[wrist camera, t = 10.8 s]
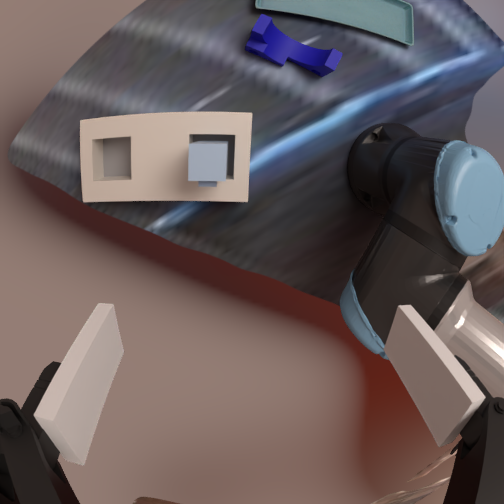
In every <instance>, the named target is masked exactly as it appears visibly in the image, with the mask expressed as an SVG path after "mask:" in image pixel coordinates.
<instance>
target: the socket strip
mask: <svg viewBox="0 0 504 504" xmlns="http://www.w3.org/2000/svg"><path fill="white" fill-rule="evenodd" d="M251 126H252V113H240V112H168V113H148V114H134V115H122V116H112V117H102V118H94V119H86V120H80V159H81V180H82V195H83V202H107V201H228V202H248V187H249V166H250V146H251ZM197 141H228V162H227V175H226V181H217V187H198V181H188V158H189V144H190V143H193V142H197Z"/></svg>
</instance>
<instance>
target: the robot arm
mask: <svg viewBox="0 0 504 504" xmlns="http://www.w3.org/2000/svg"><path fill="white" fill-rule="evenodd" d="M348 177H349V181H350V185H351V187H352V190H353V192H354V193H355V195H356V197H357V198H358V199H359V200H360V201H361V202H362V203H363V204H364V205H365V206H366V207H368V208H370V209H371V210H373V211H374V212H376V213H379V214H382V215H385V216H384V218H383V219H382V221H381V223H380V225H379V227H378V229H377V231H376V233H375V235H374V237H373V238H372V240H371V242H370V244H369V246H368V247H367V249H366V251H365V253H364V254H363V256H362V258H361V259H360V261H359V263H358V265H357V266H356V268H355V269H354V270H353V271H352V272H351V275H350V279H349V281H348V283H347V285H346V287H345V289H344V290H343V292H342V294H341V297H340V308H341V313H342V316H343V319H344V321H345V322H346V324H347V326H348V327H349V329H350V330H351V332H352V333H353V334H354V335H355V336H356V338H357V339H358V340H359V341H360V342H361V343H362V344H363V345H364V346H365V347H366V348H368V349H369V350H370V351H372V352H373V353H375V354H378V353H379V354H380V356H381V357H382V358H384V359H387V360H390V362H391V363H392V365H393V366H394V368H395V370H396V372H397V373H398V375H399V376H400V378H401V380H402V382H403V383H404V385H405V387H406V389H407V390H408V392H409V394H410V396H411V397H412V399H413V401H414V402H415V404H416V406H417V408H418V410H419V412H420V413H421V415H422V417H423V419H424V421H425V422H426V424H427V426H428V428H429V430H430V432H431V433H432V435H433V437H434V439H435V441H436V443H437V445H438V447H441V446H444V445H446V444H449V443H451V442H453V441H454V440H455V438H456V437H457V436H458V434H459V433H460V435H461V436H462V439H461V440H460V441H459V443H458V444H457V445H456V446H455V447H454V448H453V450H452V451H451V453H450V454H451V455H452V454H453V453H454V452H455V451H456V450H457V449H458V450H457V454H456V455H455V456H456V459H455V463H454V468H453V471H452V475H451V479H450V482H449V486H448V489H447V493H446V496H445V499H444V502H443V504H504V324H503V323H502V322H500V321H499V320H498V319H497V318H495V317H494V316H493V315H492V314H490V313H489V312H488V311H487V310H485V309H484V308H483V307H482V306H480V305H479V304H478V303H476V302H475V300H474V299H473V294H472V288H471V283H470V281H469V280H467V279H466V278H465V277H463V276H462V275H461V274H459V271H460V269H461V267H462V266H463V264H464V262H465V260H466V258H467V257H468V256H479V255H482V254H484V253H485V252H486V249H487V248H488V249H490V248H491V247H492V246H493V245H494V244H495V243H496V241H497V240H498V238H499V236H500V234H501V232H502V229H503V227H504V175H503V173H502V170H501V168H500V166H499V164H498V163H497V162H496V160H495V159H494V158H493V157H492V155H490V154H489V153H488V152H487V151H485V150H484V149H482V148H480V147H477V146H474V145H470V144H467V143H465V142H463V141H459V140H455V141H450V140H443V139H435V138H427V137H421V136H420V135H419V134H417V133H416V132H415V131H413V130H412V129H410V128H409V127H406V126H404V125H401V124H396V123H381V124H377V125H374V126H372V127H370V128H368V129H367V130H365V131H364V132H363V133H362V134H361V135H360V136H359V137H358V138H357V140H356V141H355V143H354V145H353V147H352V149H351V152H350V155H349V159H348ZM123 353H124V350H123V346H122V341H121V337H120V333H119V328H118V323H117V319H116V314H115V309H114V304H104V303H98V305H97V306H96V308H95V309H94V311H93V312H92V314H91V315H90V317H89V318H88V320H87V322H86V323H85V325H84V326H83V328H82V330H81V331H80V333H79V335H78V336H77V338H76V339H75V341H74V343H73V344H72V346H71V348H70V349H69V351H68V353H67V354H66V356H65V358H64V360H63V361H62V363H59V362H54V361H53V362H52V363H51V364H49V365H48V366H47V367H46V368H45V369H44V370H43V372H42V373H41V375H40V377H39V380H37V382H36V383H35V385H34V388H33V389H32V390H31V392H30V394H29V396H28V398H27V399H26V401H25V403H24V405H23V407H22V409H20V408H19V406H18V405H17V403H16V402H14V401H13V400H11V399H1V400H0V504H80V503H79V501H78V499H77V497H76V496H75V494H74V492H73V490H72V488H71V486H70V484H69V482H68V480H67V478H66V476H65V474H64V472H63V469H62V467H61V465H60V463H59V462H58V460H57V459H58V457H59V453H60V454H61V455H62V456H63V457H64V459H65V460H66V461H69V462H73V463H76V464H80V465H84V464H85V461H86V458H87V454H88V451H89V448H90V445H91V442H92V438H93V436H94V433H95V429H96V427H97V424H98V421H99V418H100V414H101V412H102V409H103V406H104V403H105V400H106V398H107V395H108V392H109V390H110V386H111V384H112V382H113V379H114V376H115V373H116V371H117V368H118V366H119V363H120V361H121V358H122V356H123Z"/></svg>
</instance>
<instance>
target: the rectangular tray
mask: <svg viewBox="0 0 504 504" xmlns="http://www.w3.org/2000/svg"><path fill="white" fill-rule="evenodd" d="M255 7H256V8H258V9H266V10H274V11H281V12H287V13H293V14H299V15H304V16H309V17H314V18H319V19H324V20H328V21H332V22H336V23H340V24H344V25H348V26H352V27H356V28H359V29H362V30H366V31H369V32H372V33H375V34H379V35H382V36H385V37H387V38H390V39H393V40H396V41H399V42H401V43H404V44H406V45H409V46H413V45H414V30H413V7H412V5H411V4H409V3H407V2H405V1H402V0H256V2H255Z"/></svg>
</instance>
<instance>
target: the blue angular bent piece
mask: <svg viewBox="0 0 504 504" xmlns="http://www.w3.org/2000/svg"><path fill="white" fill-rule="evenodd" d="M245 50H246V51H248V52H251V53H253V54H255V55H258V56H260V57H262V58H264V59H267V60H269V61H271V62H273V63H275V64H278V65H280V66H283V65H284V63H285V61H286V59H288V60H290V61H292V62H294V63H296V64H298V65H300V66H302V67H304V68H306V69H308V70H310V71H312V72H314V73H315V74H317V75H319V76H321V77H323V76H325V75H327V74H329V73H331V72H333V71H334V70H335V68H336V66H337V64H338V63H339V61H340V59H341V57H342V55H343V54H342V53H341V52H339V51H337V50H335V49H334V48H333V49H331V50H321V49H316V48H313V47H309V46H307V45H304V44H302V43H299V42H297V41H295V40H293V39H291V38H290V37H288V36H286V35H285V34H283V33H282V32H281V31H279V30H278V29H277V28H276V27H275V26H274V24H273V22H272V18H271V17H269V16H266V15H264V14H261V16H260V17H259V19H258V21H257V22H256V24H255V26H254V28H253V29H252V32H251V37H250V38H249V40H248V42H247V44H246V47H245Z"/></svg>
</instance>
